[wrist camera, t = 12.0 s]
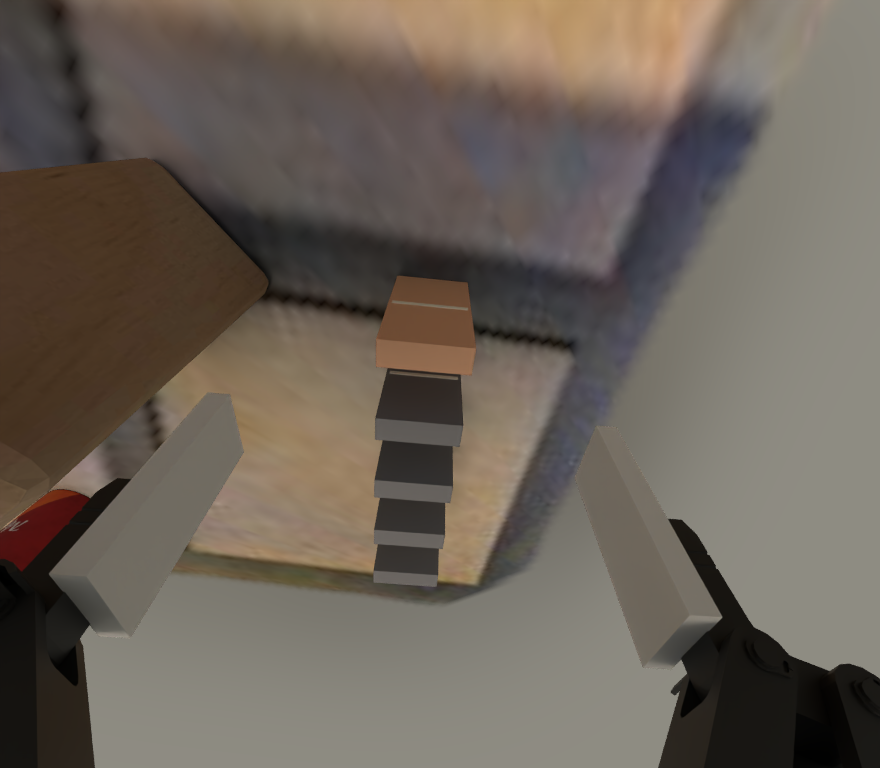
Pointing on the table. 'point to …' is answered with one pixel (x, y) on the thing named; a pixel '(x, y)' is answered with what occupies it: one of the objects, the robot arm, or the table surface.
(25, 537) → the paper cup
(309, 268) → the table surface
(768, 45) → the table surface
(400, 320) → the head domino
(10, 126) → the table surface
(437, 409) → the domino
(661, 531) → the robot arm
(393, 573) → the domino
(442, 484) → the domino
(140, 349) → the wooden block
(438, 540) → the domino
